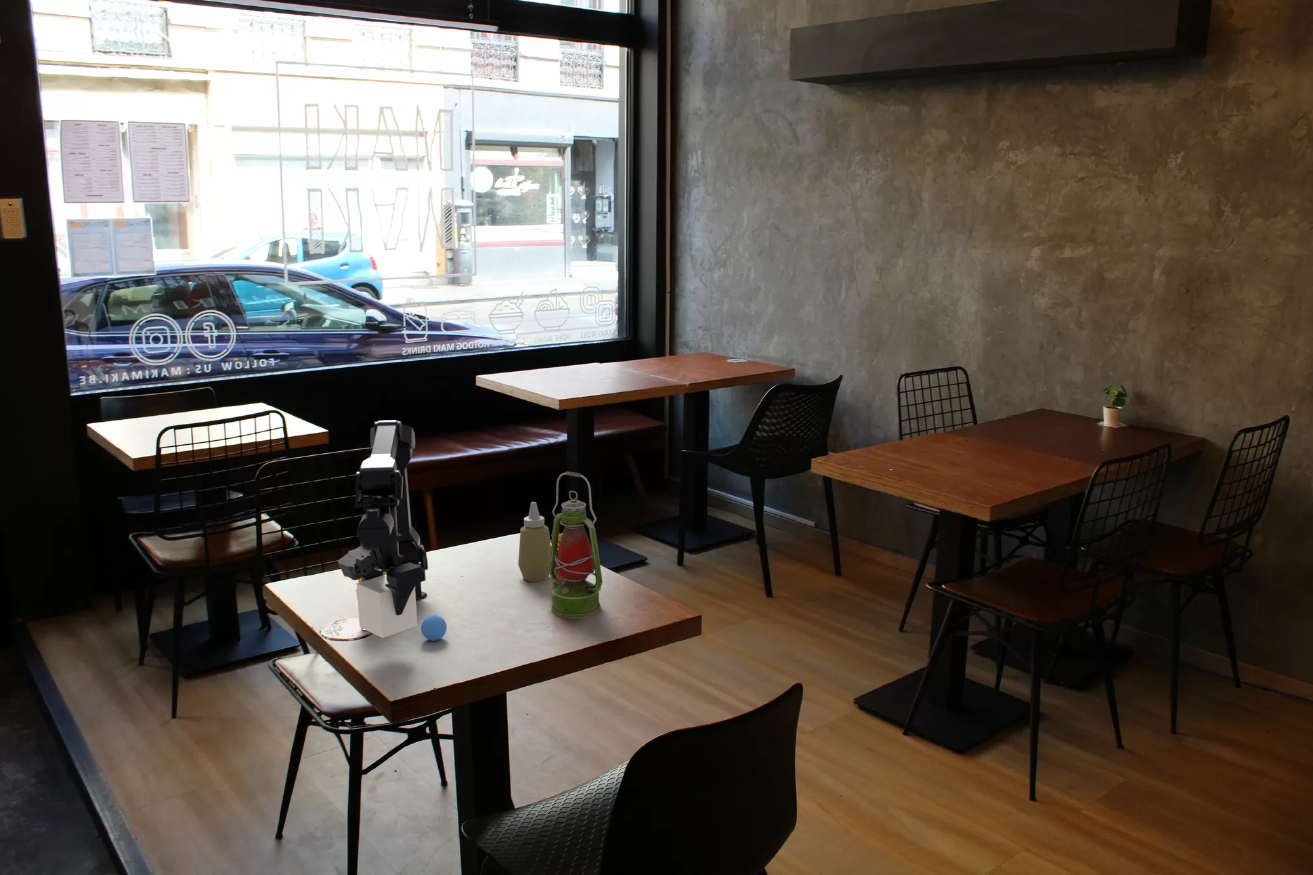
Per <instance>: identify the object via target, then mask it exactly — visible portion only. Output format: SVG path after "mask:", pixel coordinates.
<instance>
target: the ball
mask: <svg viewBox="0 0 1313 875" xmlns="http://www.w3.org/2000/svg"><path fill="white" fill-rule="evenodd" d="M420 631H421V635H422V636H423V637H424V638H425V639H426V640H427V641H428V640H429V641H435V642H436V641H438V640H440V639H442V638H443V637H444V636H445V635H446V633H447V623H446V620H445V619H444V618H443V617H442V616H440V615H437V614H432V615H428V616H427V617H425V618H424V619H423V621H422V623H421V624H420Z"/></svg>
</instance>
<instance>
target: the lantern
mask: <svg viewBox="0 0 1313 875" xmlns="http://www.w3.org/2000/svg"><path fill="white" fill-rule="evenodd" d="M564 475H566V476H569V477H576V478H582V479H583V480H585V482H586V484H587V487H588V494H589V495H588V496H589V497H588V498H589V510H590V512H591V514H592V517H593V519H594V520H593V521H592V520H591V519H589V518H588V517H587V511H586V510H587V508H586V505H587V504H586V503H585V502H583V501H581V500H578V493H577V491H575V490H574V491H573V490H570V491H569V492H568V497H569V499H570V500H568V501H565V502H562V503H561V507H562V508H561V512H560V513H557V514H556V513H555V511H556V509H557V507H558V504H559V482H560V479H561V478H562V476H564ZM571 493H575V494H576V495H575V496H576V497H575V498H574V499H573V498H572V497H571ZM555 494H556V497H555V499H556V501H555V502H556V503H555V505H554V507H553V509H552V515H553V517H554V519H553V526H552V534H551V537H552V538H551V555H550V564H549V573H550V574H549V577H550V580H551V581H552V582H554V583H556V584H557V585H555V586H554V587H553V588H552V591H551V593H552V597H551V598H552V604H551V613H553V615H554V616H558V617H560V618H566V619H584V618H588V617H593V616H594V614H595V615H597V614H598V613H600V611H601V609H602V607H601V603H600V591H601V589H602V586H603V576H602V569H601V563H600V562H601V561H600V560H601V559H600V555H599V554H600V553H599V548H598V541H597V540H598V539H597V533H596V528H595V526H594V525H595V523H596V521H597V517H596V515H595V513H594V510H593V504H592V490H591V485H590V482H589V481H588V479H587V477H585V476H584V475H582V474H581V473H580V472H572V471H565V472H563V473H561V474H559V476H558V477H557V480H556V493H555ZM561 525H562V526H564V529H563V531H562V535H561V539H560V541H559V534H560V526H561ZM585 526H587V528H588V532H589V533H588V534H589V536H588V534H587V531H586V528H585ZM558 545H559V547H558ZM557 574H558V575H560V576H561V577H562V579H563V580H562V579H560V578H559V577H557V576H558V575H557ZM590 575H593V576H595V583H592V582H590V581H588V580H587V578H588V577H589V576H590Z"/></svg>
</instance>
